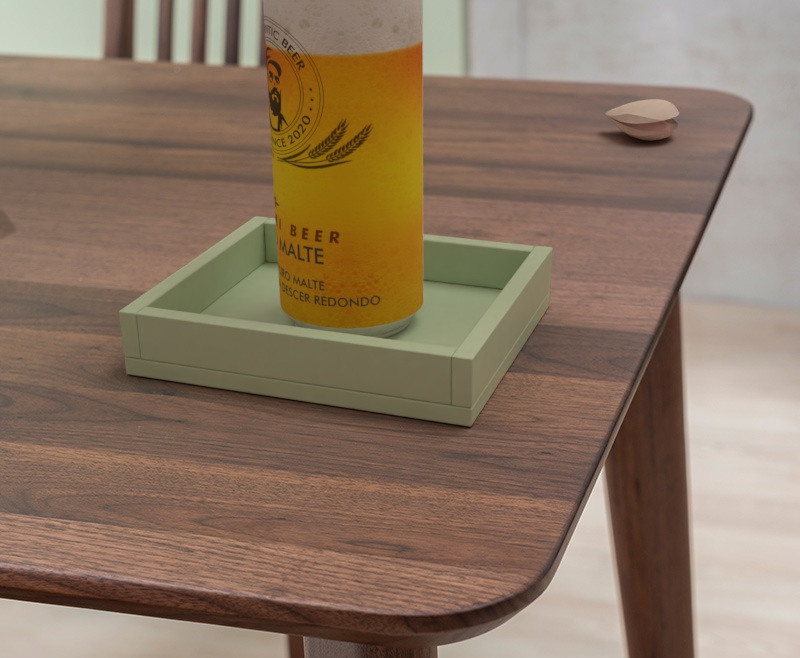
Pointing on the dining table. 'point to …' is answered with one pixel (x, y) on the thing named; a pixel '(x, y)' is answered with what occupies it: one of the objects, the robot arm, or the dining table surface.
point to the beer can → (347, 161)
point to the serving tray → (340, 352)
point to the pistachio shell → (645, 119)
